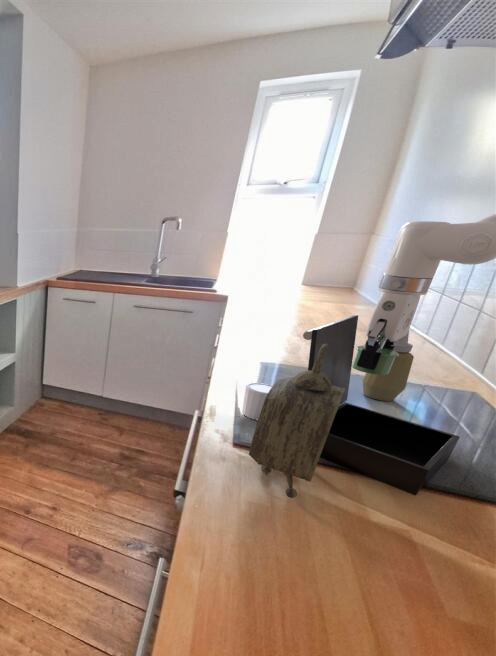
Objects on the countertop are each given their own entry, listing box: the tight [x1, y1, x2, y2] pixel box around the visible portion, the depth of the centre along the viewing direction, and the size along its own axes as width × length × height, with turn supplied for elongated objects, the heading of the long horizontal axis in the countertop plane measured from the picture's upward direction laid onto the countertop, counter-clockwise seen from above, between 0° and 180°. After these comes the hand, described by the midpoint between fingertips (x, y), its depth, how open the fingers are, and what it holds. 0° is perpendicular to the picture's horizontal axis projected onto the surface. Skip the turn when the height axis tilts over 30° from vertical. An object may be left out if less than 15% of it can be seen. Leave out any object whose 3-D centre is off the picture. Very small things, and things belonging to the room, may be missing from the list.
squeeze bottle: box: [362, 330, 415, 402], centre depth 102 cm, size 8×8×18 cm
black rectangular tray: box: [319, 401, 461, 496], centre depth 79 cm, size 18×20×6 cm
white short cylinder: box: [241, 382, 273, 420], centre depth 95 cm, size 7×7×7 cm
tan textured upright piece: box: [248, 344, 345, 499], centre depth 70 cm, size 14×9×25 cm, turn 136°
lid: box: [302, 314, 359, 405], centre depth 84 cm, size 18×20×5 cm
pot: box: [351, 345, 399, 375], centre depth 93 cm, size 7×7×5 cm
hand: (372, 363), depth 93 cm, fingers closed on pot, 7 cm apart
